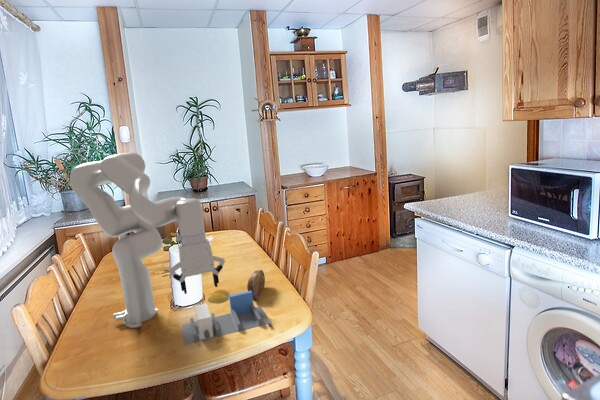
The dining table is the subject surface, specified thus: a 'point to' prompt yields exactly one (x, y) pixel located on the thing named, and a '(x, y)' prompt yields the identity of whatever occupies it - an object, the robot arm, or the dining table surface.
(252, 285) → the brown flat oval slab
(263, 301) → the dining table surface
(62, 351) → the dining table surface
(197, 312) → the cable plug
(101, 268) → the dining table surface
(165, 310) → the dining table surface
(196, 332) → the board
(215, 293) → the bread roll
